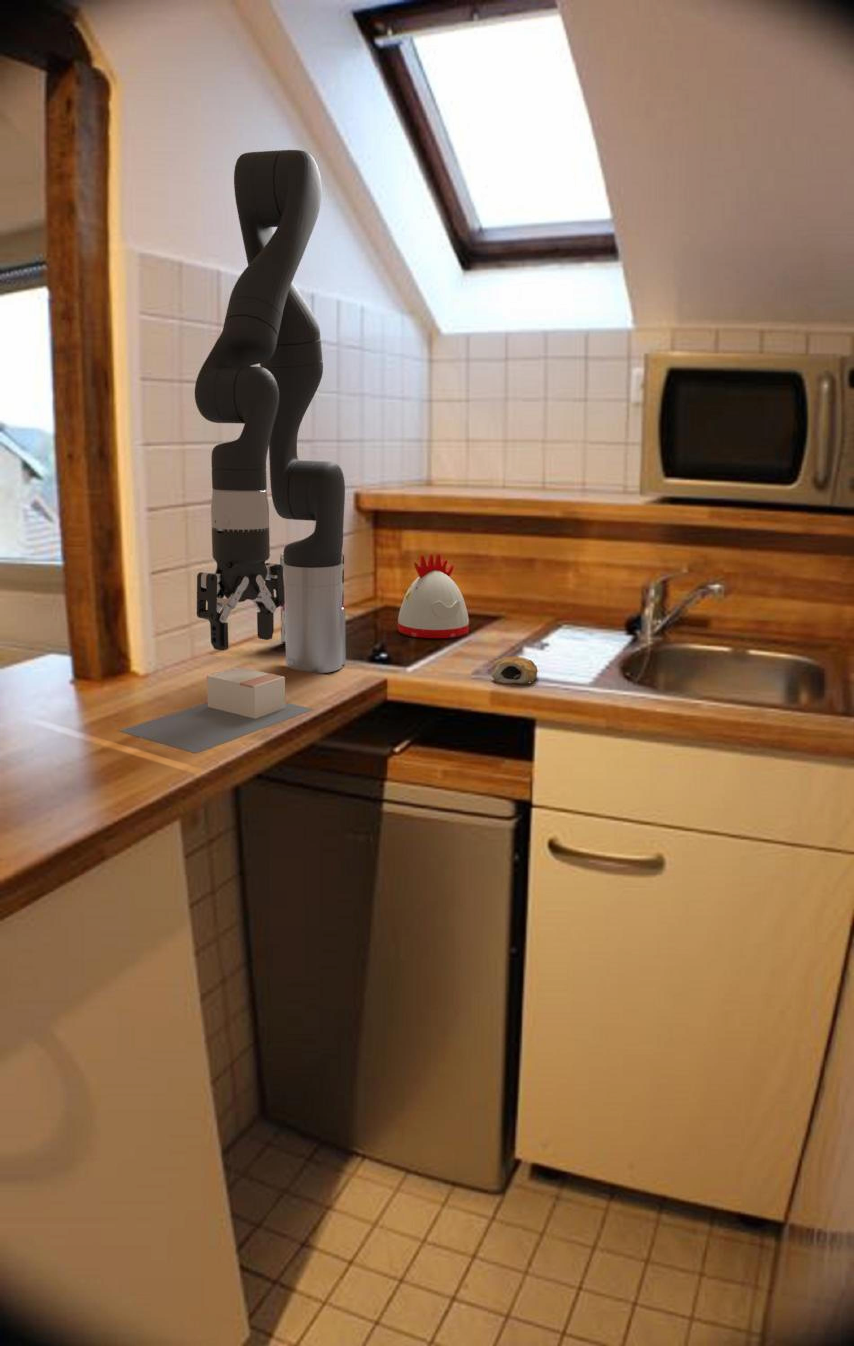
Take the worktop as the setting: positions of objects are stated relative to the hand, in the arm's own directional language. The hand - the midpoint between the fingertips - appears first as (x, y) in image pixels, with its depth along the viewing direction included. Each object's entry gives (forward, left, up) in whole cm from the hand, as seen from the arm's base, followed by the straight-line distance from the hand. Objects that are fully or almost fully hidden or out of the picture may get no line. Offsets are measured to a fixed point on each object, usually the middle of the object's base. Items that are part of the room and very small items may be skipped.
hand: (243, 644), depth 127 cm
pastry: (-39, +21, -10) cm, 46 cm away
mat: (+6, +1, -10) cm, 11 cm away
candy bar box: (-38, -20, -10) cm, 44 cm away
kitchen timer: (-60, -8, -10) cm, 62 cm away
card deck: (0, 0, -9) cm, 9 cm away
